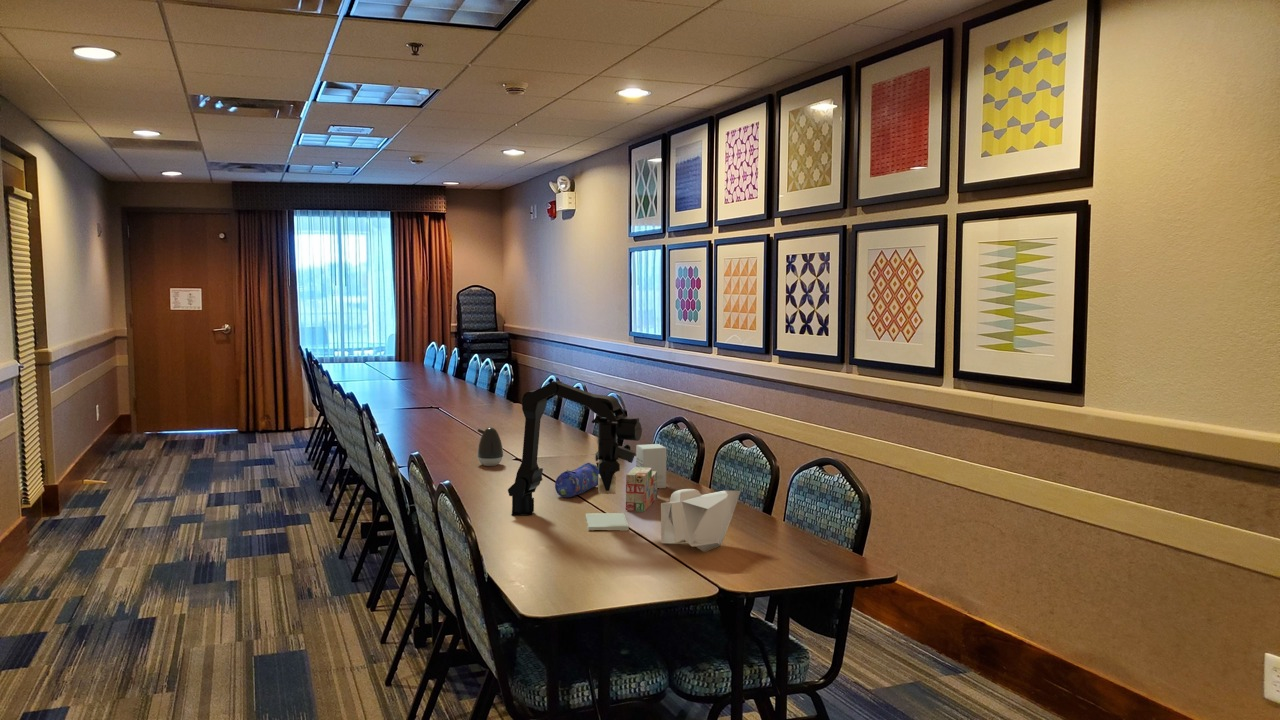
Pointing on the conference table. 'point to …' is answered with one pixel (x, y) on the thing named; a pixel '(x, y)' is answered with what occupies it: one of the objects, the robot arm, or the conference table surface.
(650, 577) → the conference table surface
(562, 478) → the pencil case
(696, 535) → the folded paper
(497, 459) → the grey egg-shaped body
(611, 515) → the sage board
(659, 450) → the supplement box
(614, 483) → the beige cube
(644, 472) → the stack of blocks
